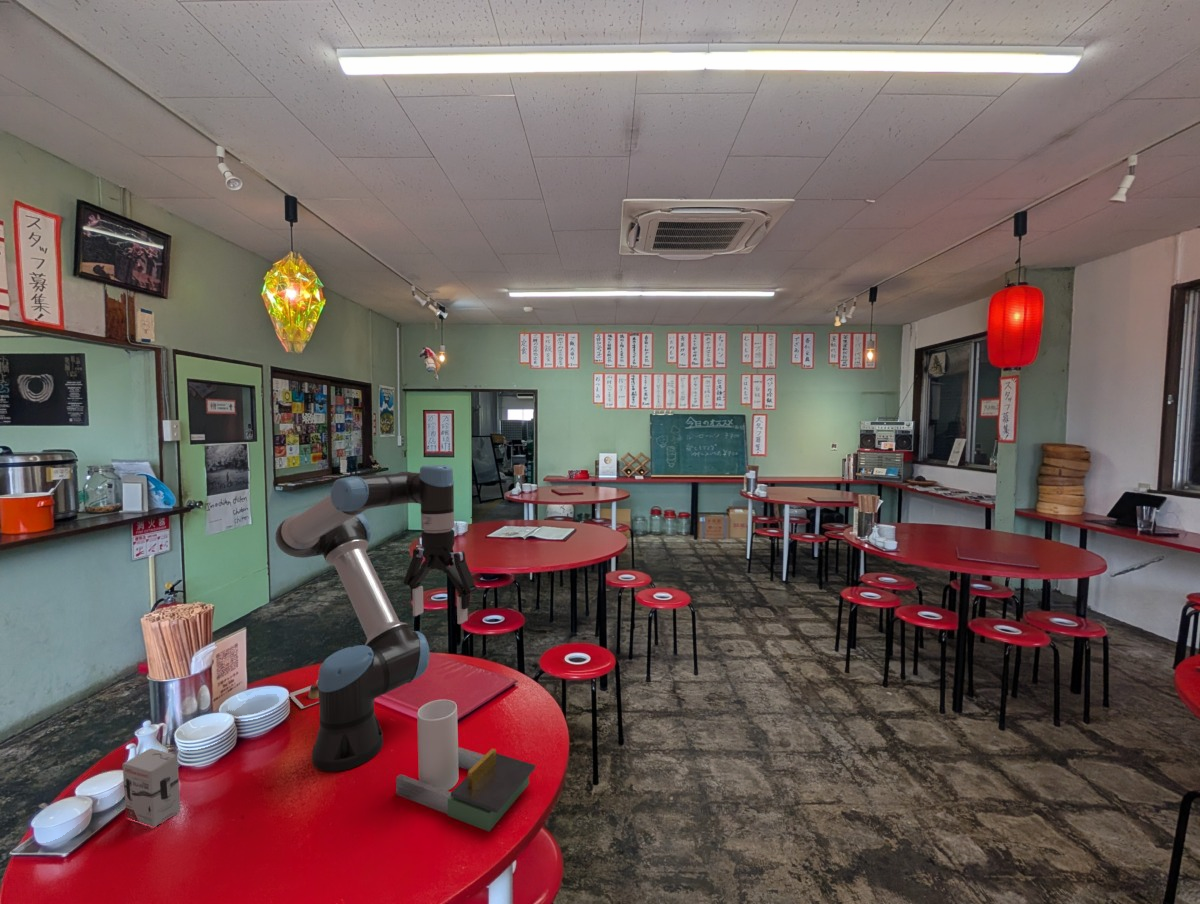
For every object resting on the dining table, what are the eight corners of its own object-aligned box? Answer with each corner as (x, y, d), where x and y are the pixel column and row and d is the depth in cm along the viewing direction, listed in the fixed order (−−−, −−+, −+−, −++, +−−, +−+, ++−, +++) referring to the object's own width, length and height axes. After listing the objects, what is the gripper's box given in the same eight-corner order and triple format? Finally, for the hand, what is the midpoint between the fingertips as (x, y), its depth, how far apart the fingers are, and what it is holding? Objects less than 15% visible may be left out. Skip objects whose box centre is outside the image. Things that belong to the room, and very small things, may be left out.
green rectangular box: (447, 815, 98) (447, 798, 98) (490, 771, 111) (490, 756, 111) (489, 831, 94) (488, 813, 94) (529, 784, 107) (528, 768, 107)
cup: (464, 769, 112) (462, 700, 111) (449, 796, 103) (447, 721, 103) (429, 767, 112) (427, 698, 112) (412, 793, 104) (410, 719, 104)
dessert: (301, 712, 137) (300, 695, 137) (286, 697, 145) (286, 681, 144) (346, 695, 146) (346, 679, 146) (330, 682, 154) (330, 667, 154)
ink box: (123, 820, 98) (121, 762, 97) (153, 802, 103) (150, 747, 102) (153, 830, 95) (150, 770, 95) (181, 811, 100) (179, 754, 100)
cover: (450, 796, 98) (450, 777, 98) (492, 755, 110) (492, 738, 110) (496, 813, 93) (496, 793, 93) (535, 768, 106) (534, 751, 106)
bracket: (396, 794, 104) (396, 777, 104) (441, 756, 116) (440, 741, 116) (448, 814, 98) (448, 796, 98) (490, 772, 111) (489, 756, 110)
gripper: (386, 529, 120) (389, 616, 120) (469, 536, 109) (471, 631, 110) (410, 524, 126) (412, 606, 127) (490, 530, 116) (492, 619, 117)
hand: (439, 618), depth 119 cm, fingers open, 13 cm apart
